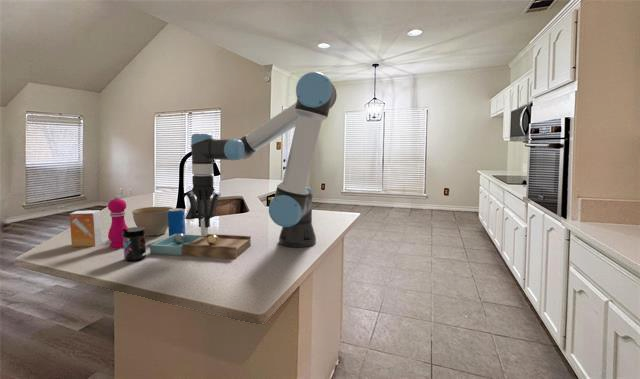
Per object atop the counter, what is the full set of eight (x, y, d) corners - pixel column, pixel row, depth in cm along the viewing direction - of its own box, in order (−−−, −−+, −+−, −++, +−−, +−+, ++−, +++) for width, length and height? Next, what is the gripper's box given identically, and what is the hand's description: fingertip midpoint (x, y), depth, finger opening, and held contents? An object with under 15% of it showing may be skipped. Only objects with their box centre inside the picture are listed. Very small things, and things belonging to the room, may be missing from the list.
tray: (203, 242, 132) (203, 235, 132) (181, 255, 116) (181, 247, 116) (175, 241, 134) (175, 233, 133) (150, 253, 118) (149, 245, 117)
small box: (71, 247, 124) (68, 213, 122) (79, 242, 130) (77, 210, 128) (95, 246, 126) (93, 213, 124) (102, 241, 132) (100, 209, 130)
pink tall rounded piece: (134, 245, 128) (131, 194, 125) (116, 250, 121) (113, 196, 119) (122, 242, 131) (119, 193, 128) (104, 247, 124) (100, 195, 122)
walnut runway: (250, 245, 129) (250, 236, 128) (235, 258, 114) (235, 247, 113) (202, 243, 131) (202, 233, 131) (182, 255, 117) (181, 244, 116)
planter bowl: (181, 232, 148) (180, 208, 146) (146, 240, 134) (145, 214, 133) (161, 227, 156) (160, 204, 155) (126, 234, 143) (124, 210, 141)
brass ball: (220, 244, 120) (220, 233, 120) (215, 247, 116) (215, 236, 116) (210, 243, 121) (210, 233, 120) (205, 247, 117) (204, 236, 116)
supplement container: (129, 256, 115) (127, 227, 114) (149, 255, 116) (147, 226, 115) (120, 262, 109) (118, 232, 107) (142, 261, 110) (140, 231, 108)
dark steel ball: (179, 242, 131) (188, 241, 131) (173, 245, 127) (182, 243, 127) (176, 232, 131) (185, 231, 130) (170, 235, 127) (180, 234, 126)
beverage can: (179, 239, 136) (178, 211, 135) (165, 238, 137) (164, 210, 136) (188, 235, 142) (187, 208, 141) (175, 234, 144) (174, 207, 142)
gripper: (223, 174, 127) (224, 233, 130) (191, 173, 129) (193, 232, 132) (214, 176, 119) (216, 239, 122) (181, 175, 121) (183, 237, 124)
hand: (204, 235), depth 127 cm, fingers closed
